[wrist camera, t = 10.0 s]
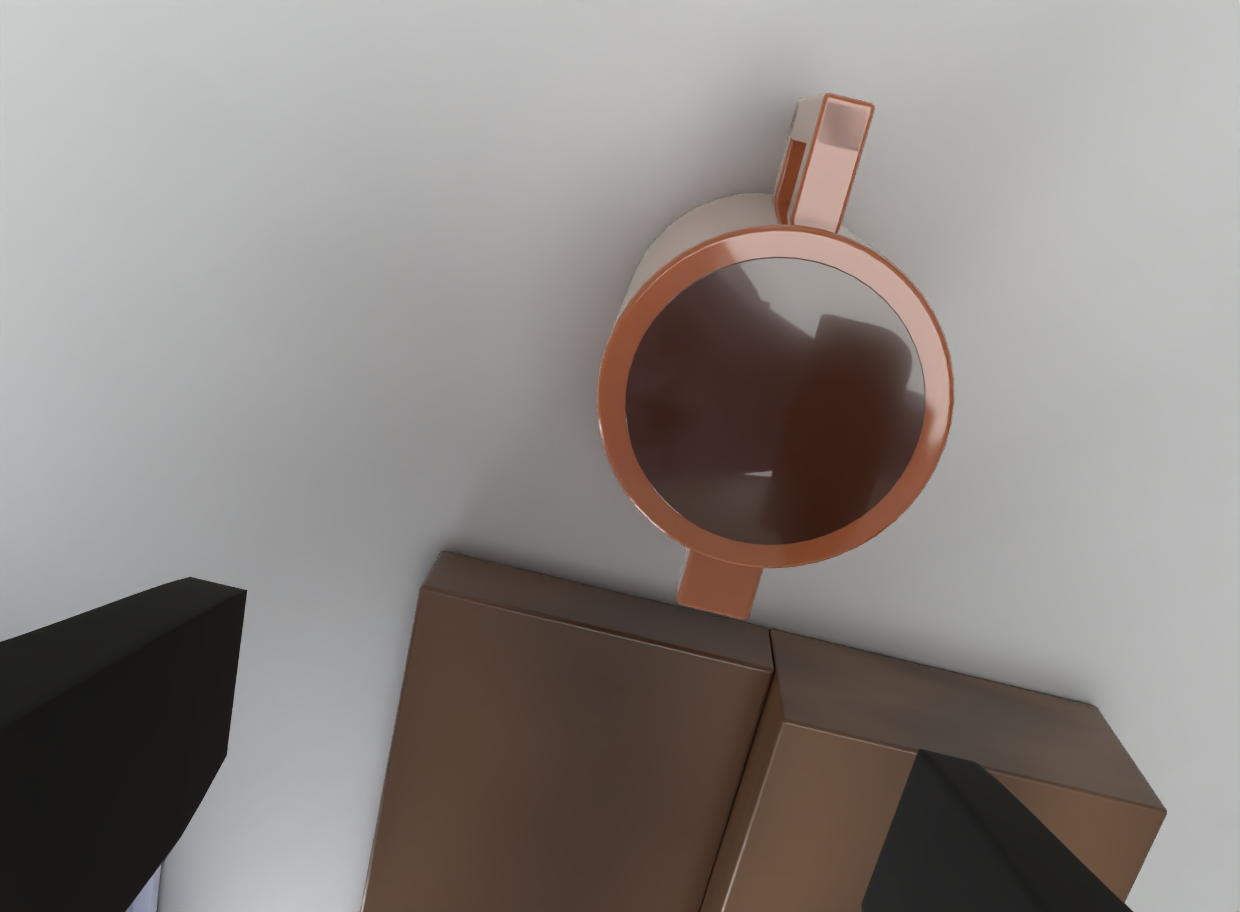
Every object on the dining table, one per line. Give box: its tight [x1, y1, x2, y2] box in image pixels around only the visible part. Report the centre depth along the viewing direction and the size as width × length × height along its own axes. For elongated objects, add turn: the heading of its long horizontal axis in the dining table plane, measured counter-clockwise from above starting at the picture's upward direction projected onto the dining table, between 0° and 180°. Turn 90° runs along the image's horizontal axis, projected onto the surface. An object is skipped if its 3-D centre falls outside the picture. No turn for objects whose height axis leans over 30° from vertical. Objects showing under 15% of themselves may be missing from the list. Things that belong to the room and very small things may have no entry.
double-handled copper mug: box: [597, 93, 954, 620], centre depth 17 cm, size 5×7×6 cm, turn 167°
